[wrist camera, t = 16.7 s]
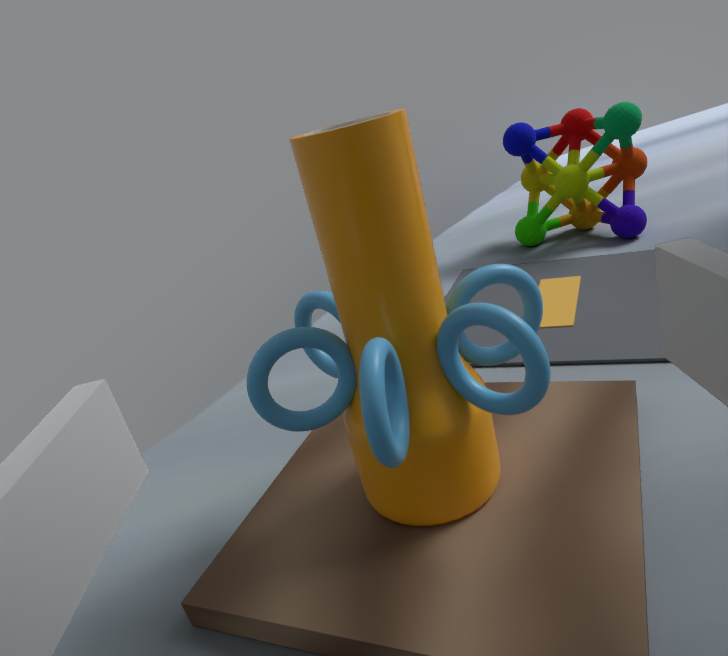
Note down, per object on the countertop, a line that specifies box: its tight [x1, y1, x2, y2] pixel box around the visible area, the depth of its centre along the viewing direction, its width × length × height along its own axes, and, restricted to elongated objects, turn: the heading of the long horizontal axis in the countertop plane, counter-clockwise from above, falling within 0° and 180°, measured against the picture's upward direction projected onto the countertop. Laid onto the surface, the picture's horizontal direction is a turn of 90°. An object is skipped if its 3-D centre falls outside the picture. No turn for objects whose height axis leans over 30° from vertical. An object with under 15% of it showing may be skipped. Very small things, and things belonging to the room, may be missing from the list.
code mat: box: [444, 250, 669, 366], centre depth 41 cm, size 18×18×1 cm
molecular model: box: [503, 102, 647, 246], centre depth 51 cm, size 11×7×12 cm, turn 59°
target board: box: [181, 381, 649, 656], centre depth 25 cm, size 16×16×1 cm
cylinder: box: [247, 108, 550, 526], centre depth 22 cm, size 12×10×15 cm
